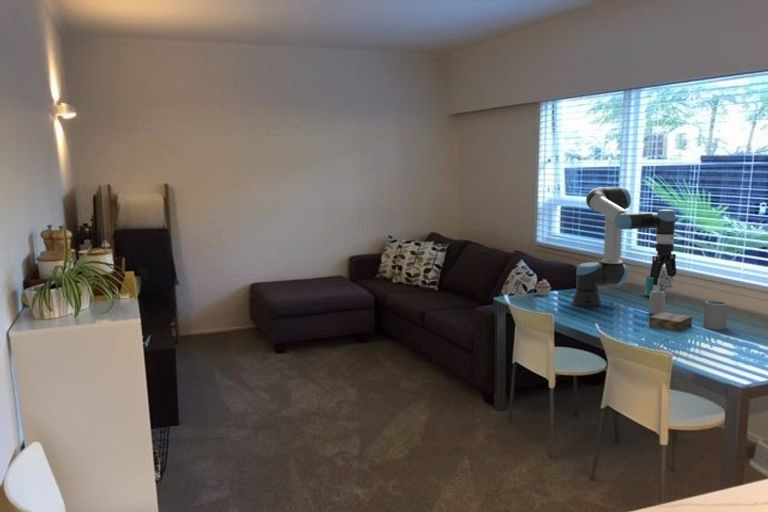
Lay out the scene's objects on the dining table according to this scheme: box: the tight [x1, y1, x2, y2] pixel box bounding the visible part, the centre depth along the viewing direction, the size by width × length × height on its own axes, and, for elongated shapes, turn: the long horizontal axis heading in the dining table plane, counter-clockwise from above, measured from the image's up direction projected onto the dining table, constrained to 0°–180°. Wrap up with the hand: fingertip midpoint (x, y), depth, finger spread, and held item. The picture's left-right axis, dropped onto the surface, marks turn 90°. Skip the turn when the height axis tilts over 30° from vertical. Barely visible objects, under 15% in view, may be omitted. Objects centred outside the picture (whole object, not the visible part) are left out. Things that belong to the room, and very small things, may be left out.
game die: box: [659, 270, 674, 291], centre depth 280 cm, size 9×8×10 cm
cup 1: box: [644, 275, 667, 297], centre depth 347 cm, size 9×12×11 cm
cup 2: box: [703, 300, 728, 331], centre depth 279 cm, size 9×9×12 cm
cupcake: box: [535, 278, 552, 297], centre depth 355 cm, size 9×9×10 cm
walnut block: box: [648, 311, 693, 332], centre depth 284 cm, size 14×14×5 cm
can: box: [648, 290, 666, 315], centre depth 306 cm, size 8×8×12 cm
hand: (662, 290), depth 281 cm, fingers closed on game die, 8 cm apart
